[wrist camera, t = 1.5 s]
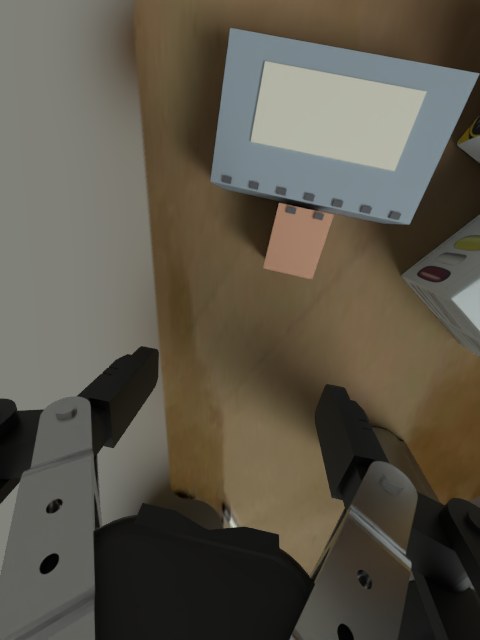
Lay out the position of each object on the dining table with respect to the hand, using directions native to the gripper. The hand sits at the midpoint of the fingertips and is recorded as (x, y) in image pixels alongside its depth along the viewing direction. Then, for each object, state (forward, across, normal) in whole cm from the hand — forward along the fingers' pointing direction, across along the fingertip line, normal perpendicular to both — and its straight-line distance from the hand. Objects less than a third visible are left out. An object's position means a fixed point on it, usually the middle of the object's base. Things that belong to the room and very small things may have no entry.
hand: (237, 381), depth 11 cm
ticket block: (+21, -3, -14) cm, 25 cm away
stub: (+21, -3, -5) cm, 22 cm away
